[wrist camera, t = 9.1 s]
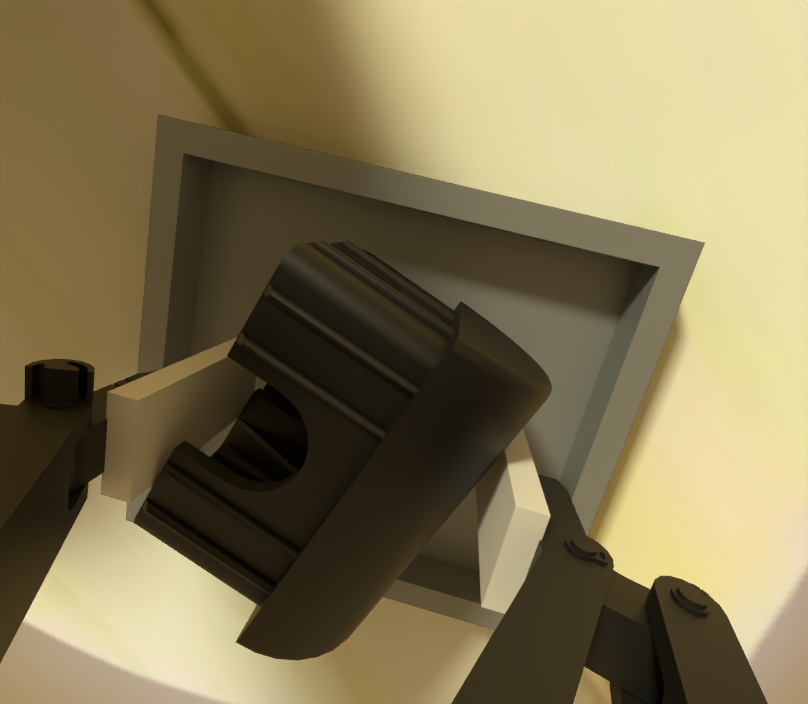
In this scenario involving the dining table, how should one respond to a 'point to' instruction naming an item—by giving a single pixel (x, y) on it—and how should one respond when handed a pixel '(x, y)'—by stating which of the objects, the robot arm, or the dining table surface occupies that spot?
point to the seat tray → (435, 273)
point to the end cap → (342, 444)
